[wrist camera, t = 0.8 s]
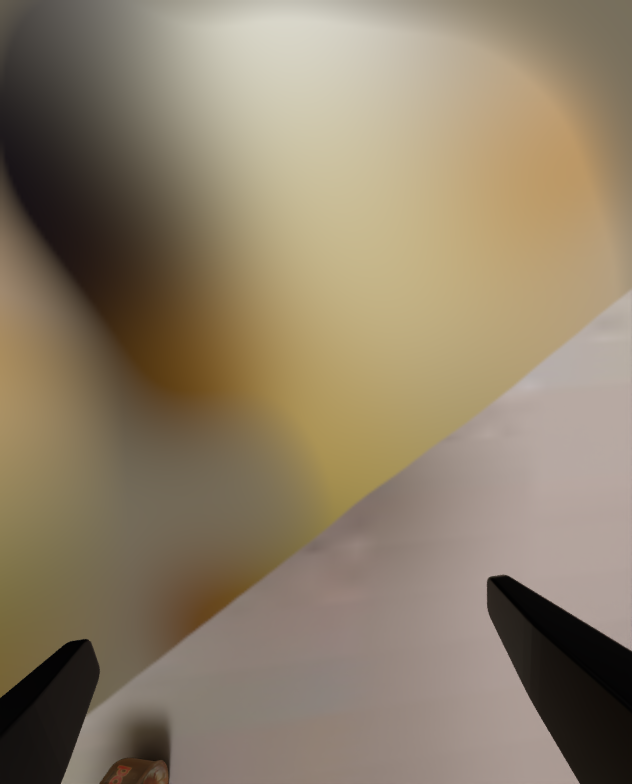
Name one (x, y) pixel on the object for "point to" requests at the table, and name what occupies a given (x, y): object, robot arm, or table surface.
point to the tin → (137, 772)
